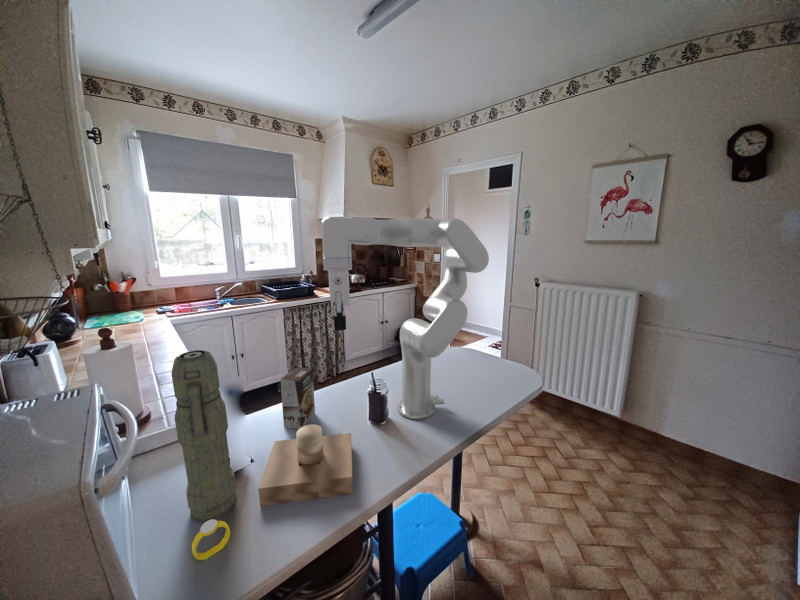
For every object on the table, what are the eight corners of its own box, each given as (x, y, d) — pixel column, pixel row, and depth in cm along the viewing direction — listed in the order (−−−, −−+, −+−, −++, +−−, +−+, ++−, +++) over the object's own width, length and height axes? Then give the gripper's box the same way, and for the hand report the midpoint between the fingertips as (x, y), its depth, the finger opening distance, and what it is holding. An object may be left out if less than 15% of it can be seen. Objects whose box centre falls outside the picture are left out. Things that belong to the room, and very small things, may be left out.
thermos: (191, 537, 60) (163, 370, 53) (189, 496, 70) (165, 350, 63) (241, 514, 65) (222, 359, 58) (233, 479, 75) (215, 342, 68)
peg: (325, 461, 80) (323, 423, 78) (323, 479, 74) (321, 438, 72) (300, 464, 79) (297, 425, 77) (297, 482, 73) (293, 441, 71)
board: (351, 447, 86) (351, 433, 85) (352, 493, 71) (352, 476, 70) (276, 455, 83) (274, 441, 82) (260, 506, 67) (258, 488, 66)
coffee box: (302, 430, 94) (298, 380, 91) (283, 427, 95) (279, 379, 92) (316, 413, 103) (313, 368, 99) (298, 411, 104) (295, 366, 101)
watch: (198, 569, 55) (190, 544, 53) (193, 558, 57) (186, 533, 55) (234, 544, 59) (228, 519, 57) (228, 534, 61) (223, 510, 59)
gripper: (352, 266, 77) (354, 336, 80) (351, 261, 91) (353, 321, 95) (321, 267, 76) (324, 338, 79) (325, 262, 90) (328, 322, 94)
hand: (340, 329), depth 87 cm, fingers closed
